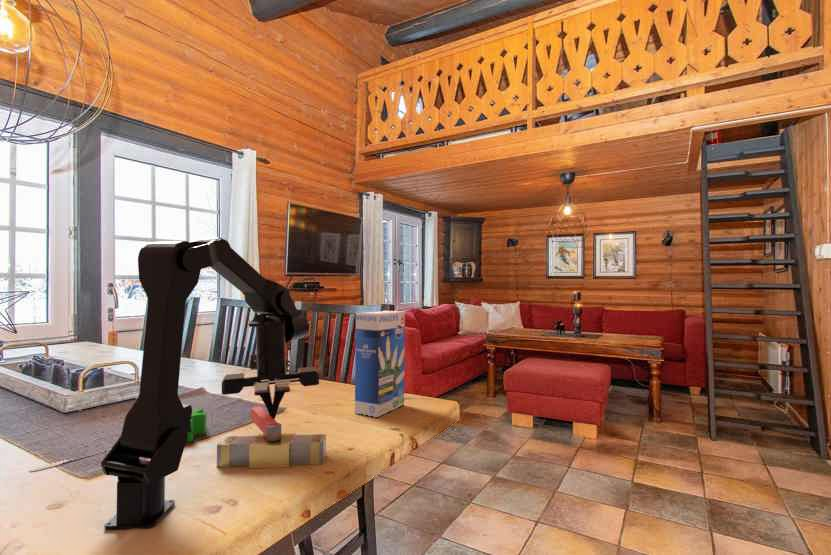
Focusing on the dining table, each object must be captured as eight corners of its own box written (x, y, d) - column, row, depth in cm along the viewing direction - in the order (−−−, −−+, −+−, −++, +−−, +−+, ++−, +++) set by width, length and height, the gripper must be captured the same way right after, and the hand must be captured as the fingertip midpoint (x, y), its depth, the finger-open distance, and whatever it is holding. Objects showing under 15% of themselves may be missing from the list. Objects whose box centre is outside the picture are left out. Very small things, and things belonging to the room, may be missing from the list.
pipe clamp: (181, 448, 86) (181, 425, 86) (164, 447, 86) (164, 425, 86) (213, 428, 97) (214, 408, 97) (198, 428, 98) (198, 408, 97)
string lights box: (377, 418, 105) (378, 313, 105) (352, 413, 109) (353, 312, 109) (405, 405, 116) (406, 310, 116) (382, 401, 120) (383, 309, 120)
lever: (283, 439, 80) (283, 425, 80) (267, 442, 78) (268, 428, 78) (262, 418, 91) (262, 406, 91) (248, 420, 90) (249, 408, 90)
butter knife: (26, 467, 76) (30, 470, 74) (183, 428, 97) (190, 430, 96) (26, 470, 76) (30, 473, 74) (183, 430, 97) (190, 432, 95)
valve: (322, 466, 78) (322, 444, 78) (214, 469, 76) (214, 446, 76) (326, 453, 84) (326, 432, 84) (226, 455, 82) (226, 434, 82)
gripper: (313, 337, 99) (314, 404, 99) (225, 343, 93) (227, 414, 93) (318, 345, 89) (320, 419, 89) (220, 352, 82) (222, 432, 83)
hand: (273, 420), depth 89 cm, fingers closed
